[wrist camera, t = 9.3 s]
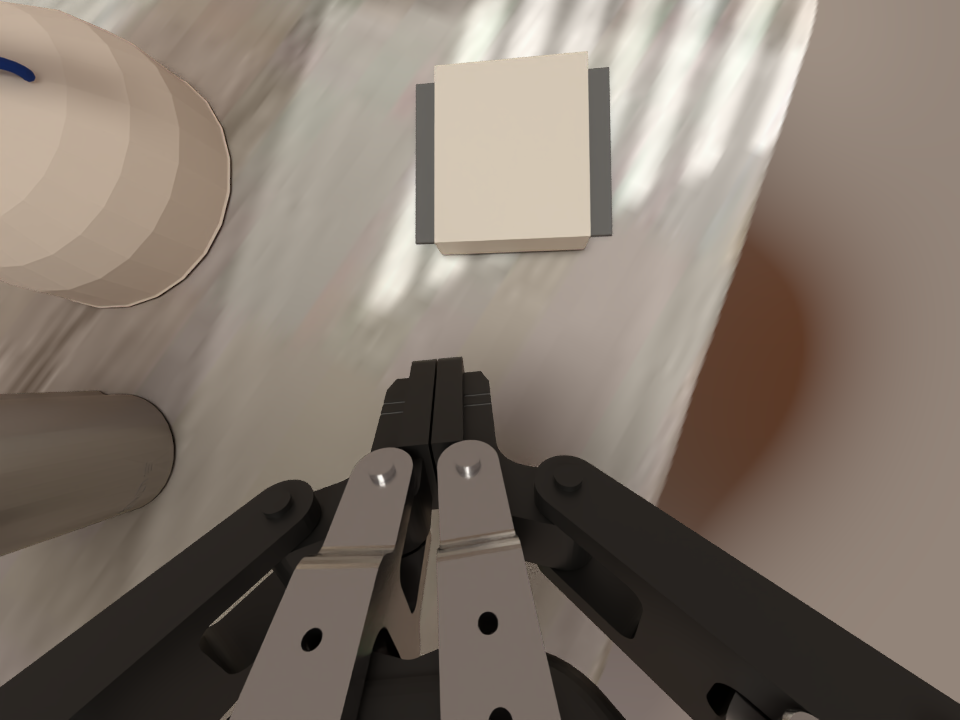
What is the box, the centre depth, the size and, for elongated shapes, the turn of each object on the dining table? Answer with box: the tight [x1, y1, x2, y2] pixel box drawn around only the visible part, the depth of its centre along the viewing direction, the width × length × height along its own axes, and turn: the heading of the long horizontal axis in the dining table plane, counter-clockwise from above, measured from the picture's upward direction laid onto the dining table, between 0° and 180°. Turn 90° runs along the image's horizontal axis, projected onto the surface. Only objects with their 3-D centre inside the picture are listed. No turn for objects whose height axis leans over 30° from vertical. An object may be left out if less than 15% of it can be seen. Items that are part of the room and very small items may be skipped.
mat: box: [416, 67, 612, 244], centre depth 27 cm, size 12×14×1 cm
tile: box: [434, 51, 591, 255], centre depth 26 cm, size 3×10×12 cm
